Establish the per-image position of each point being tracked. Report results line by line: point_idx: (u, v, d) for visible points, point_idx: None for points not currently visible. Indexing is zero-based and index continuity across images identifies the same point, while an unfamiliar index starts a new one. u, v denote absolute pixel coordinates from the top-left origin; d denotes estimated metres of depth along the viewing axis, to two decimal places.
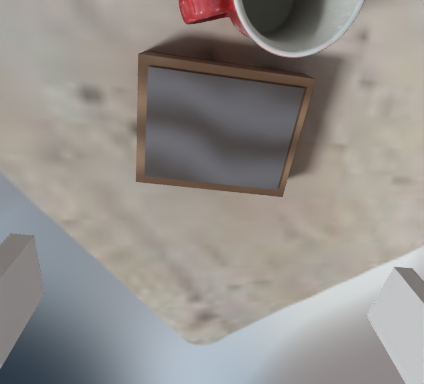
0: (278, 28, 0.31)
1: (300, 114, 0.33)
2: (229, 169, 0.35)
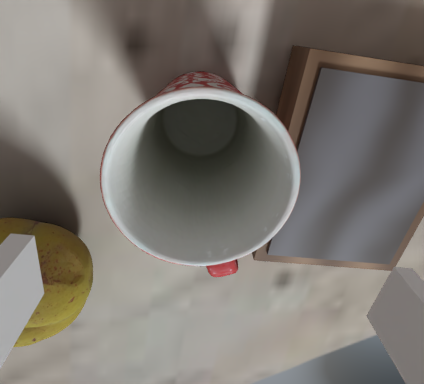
0: None
1: (360, 66, 0.20)
2: (417, 168, 0.24)
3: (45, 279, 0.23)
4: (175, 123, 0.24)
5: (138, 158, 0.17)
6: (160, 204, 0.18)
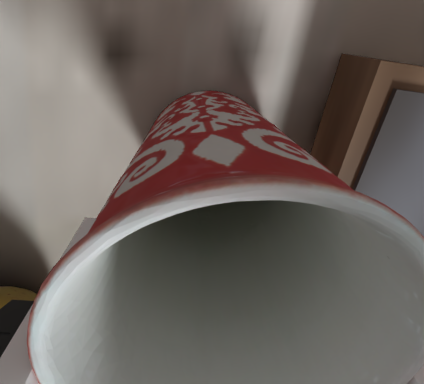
0: None
1: None
2: None
3: None
4: None
5: (118, 250, 0.10)
6: (155, 320, 0.11)
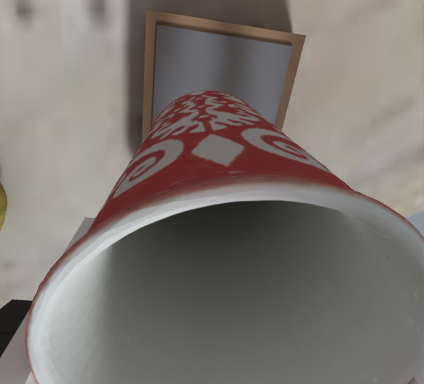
0: None
1: (189, 24, 0.26)
2: None
3: None
4: None
5: (117, 250, 0.10)
6: (155, 320, 0.11)
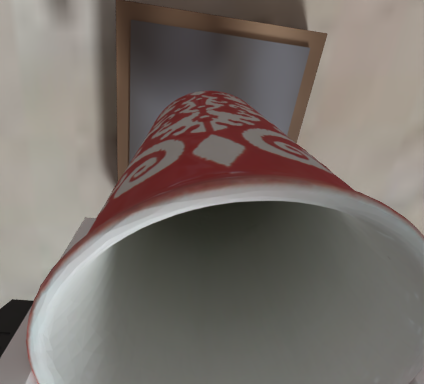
0: None
1: (174, 18, 0.20)
2: None
3: None
4: None
5: (118, 251, 0.10)
6: (155, 321, 0.11)
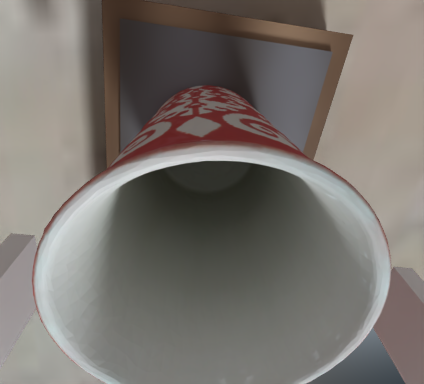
0: None
1: (171, 17, 0.16)
2: None
3: None
4: None
5: (115, 223, 0.11)
6: (148, 288, 0.12)
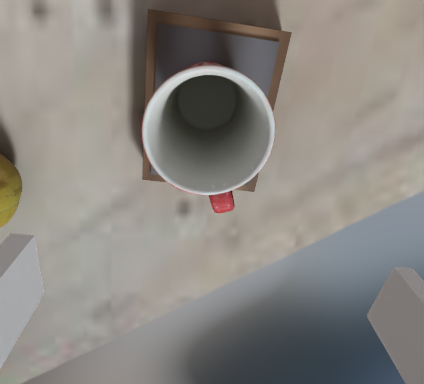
0: (233, 84, 0.30)
1: (186, 22, 0.29)
2: None
3: None
4: (187, 102, 0.31)
5: (162, 121, 0.24)
6: (177, 155, 0.24)
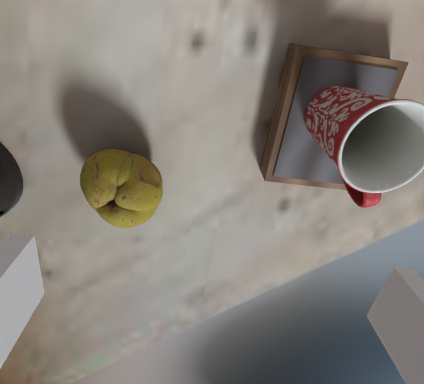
0: None
1: (327, 54, 0.36)
2: None
3: (143, 180, 0.39)
4: None
5: None
6: None
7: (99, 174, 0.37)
